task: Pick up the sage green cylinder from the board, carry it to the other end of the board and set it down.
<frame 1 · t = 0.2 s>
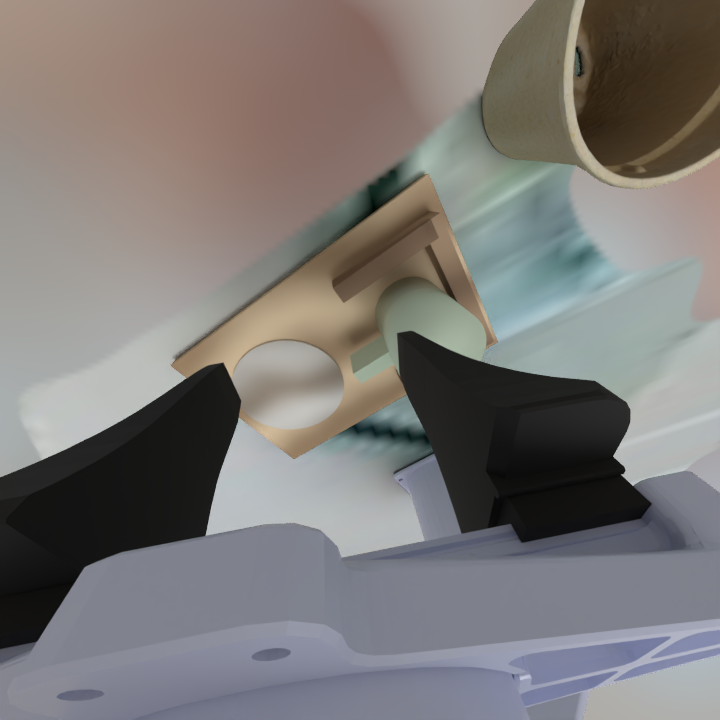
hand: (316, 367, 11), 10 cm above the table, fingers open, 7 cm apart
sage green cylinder: (409, 311, 21), point 1 cm above the table, touching board
board: (343, 348, 22), on the table
flower pot: (529, 95, 16), on the table
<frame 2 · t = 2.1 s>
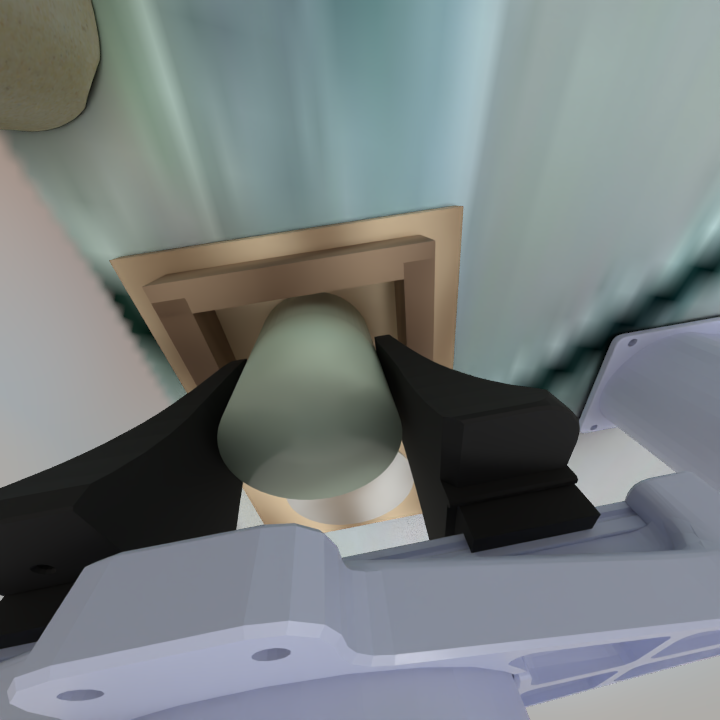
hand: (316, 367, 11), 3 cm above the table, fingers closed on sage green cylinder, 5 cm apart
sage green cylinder: (317, 343, 13), point 1 cm above the table, touching board, gripper
board: (337, 421, 17), on the table
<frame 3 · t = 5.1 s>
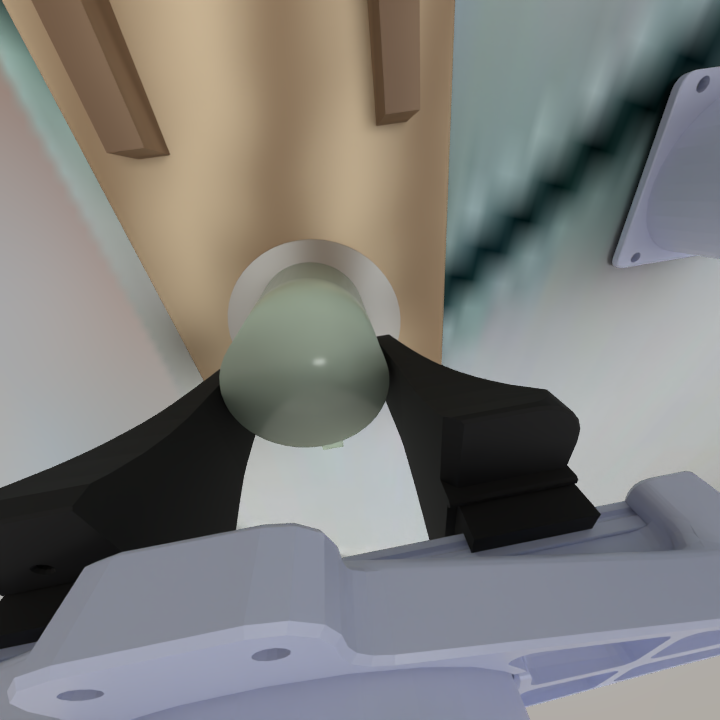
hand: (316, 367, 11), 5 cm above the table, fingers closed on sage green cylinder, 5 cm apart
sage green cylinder: (313, 314, 14), point 1 cm above the table, touching board, gripper
board: (293, 214, 13), on the table
when the fingers open (5 cm above the table, at t = 5.9 s): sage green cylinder stays where it is, resting on board.
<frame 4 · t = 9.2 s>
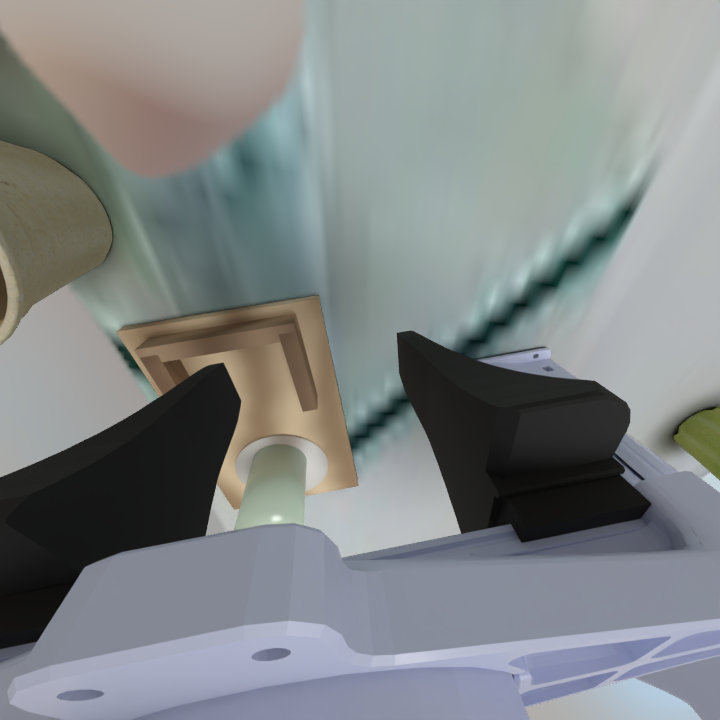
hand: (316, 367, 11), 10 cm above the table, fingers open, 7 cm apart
plant pot: (695, 423, 34), on the table
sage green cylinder: (280, 462, 27), point 1 cm above the table, touching board
board: (268, 421, 25), on the table
flower pot: (56, 216, 16), on the table
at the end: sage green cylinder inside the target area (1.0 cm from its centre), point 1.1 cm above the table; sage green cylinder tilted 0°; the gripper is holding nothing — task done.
